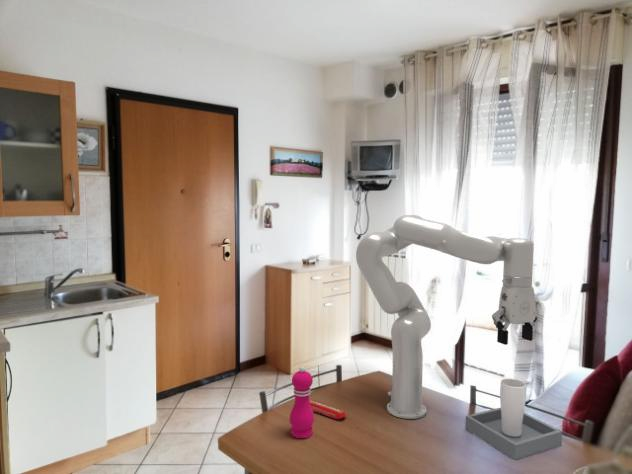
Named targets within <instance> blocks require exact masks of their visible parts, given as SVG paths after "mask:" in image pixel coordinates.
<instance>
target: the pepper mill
mask: <svg viewBox="0 0 632 474" xmlns="http://www.w3.org/2000/svg"><path fill="white" fill-rule="evenodd" d="M291 385H292V386H293V395H294V403H293V406H292V409H291V411H290V414H289V423H290V425H291V428H290V434H292V435H293V436H294V437H296V438H295V439H297V438H306V439H309V438H311V437H312V436H313V425H314V423H315V415H314V411H312V408H311V406H310V402H309V400H310V394H311V393H312V392H311V390H312V389H311V387H312V385H313V376H312V374H311V373H310V372H308V371H306V367H305V366H300V367H299V370H298V371H296V372H294V374H293V375H292V378H291ZM292 435H291V436H292ZM311 435H312V436H311ZM293 436H292V437H293ZM294 437H293V438H294ZM308 437H309V438H308Z"/></svg>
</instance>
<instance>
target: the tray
mask: <svg viewBox="0 0 632 474" xmlns="http://www.w3.org/2000/svg"><path fill="white" fill-rule="evenodd" d="M464 426H465V427H464V428H465V430H466V431H467V432H470V433H471V434H473V435H474V436H476V437H477V438H479V439H481V440H482V441H484V442H486V443H487V444H489V445H491V446H492V447H493V448H495V449H497V450H498V451H500V452H502V453H503V454H505V455H506V456H508V457H509V458H511V459H513V460H514V461H516V460H519V459H522V458H525V457H529V456H532V455H535V454H539V453H541V452H544V451H549V450H551V449H554V448H558V447H561V446H562V440H563V438H562V436H563V430H560V429H559V428H556V427H553V426H552V425H550V424H549V423H546V422H544V421H542V420H540V419H538V418H536V417H534V416H531V415H530V414H528V413H526V412H524V415H523V423H522V434H521V436H519V437H510V436H507V435H505V434H504V433H503V432H502V430H501V427H502V421H501V407H497V408H493V409H489V410H485V411H481V412H476V413H473V414H468V415H465V425H464Z"/></svg>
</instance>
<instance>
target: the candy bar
mask: <svg viewBox="0 0 632 474" xmlns="http://www.w3.org/2000/svg"><path fill="white" fill-rule="evenodd" d="M309 402H310V406H311V408H312V411H313V412H315V413H317V412H318V414H320V413H321V415H323V416H326V417H330V418H332V419H335V420H342V418H343V419H344V418H347V415H346V413H345V411H343V410H341V409H339V408H337V407H334V406H331V405H327V404H324V403H322V402H318V401H314V400H312V399H309Z"/></svg>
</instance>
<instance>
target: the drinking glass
mask: <svg viewBox="0 0 632 474" xmlns="http://www.w3.org/2000/svg"><path fill="white" fill-rule="evenodd" d="M499 387H500V389H499V398H500V399H499V401H500V408H501V421H502V427H501V430H502V432H503V433H504V434H505V435H507V436H510V437H519V436H521V434H522V423H523V415H524V413H525V407H526V400H527V398H526V397H527V385H526V383H525V382H524V381H522V380H519V379H515V378H503V379H501V380H500V386H499Z"/></svg>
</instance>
